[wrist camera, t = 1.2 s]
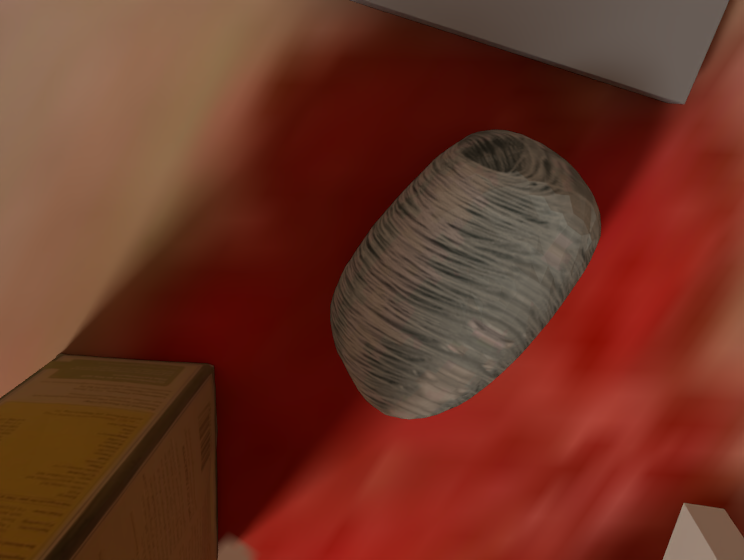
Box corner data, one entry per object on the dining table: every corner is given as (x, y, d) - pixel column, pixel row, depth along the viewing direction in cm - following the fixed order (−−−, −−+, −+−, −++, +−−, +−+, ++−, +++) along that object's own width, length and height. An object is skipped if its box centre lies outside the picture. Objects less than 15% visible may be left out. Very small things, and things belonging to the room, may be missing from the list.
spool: (467, 47, 28) (542, 191, 21) (597, 160, 33) (693, 307, 26) (276, 250, 34) (283, 413, 27) (409, 318, 39) (445, 470, 32)
